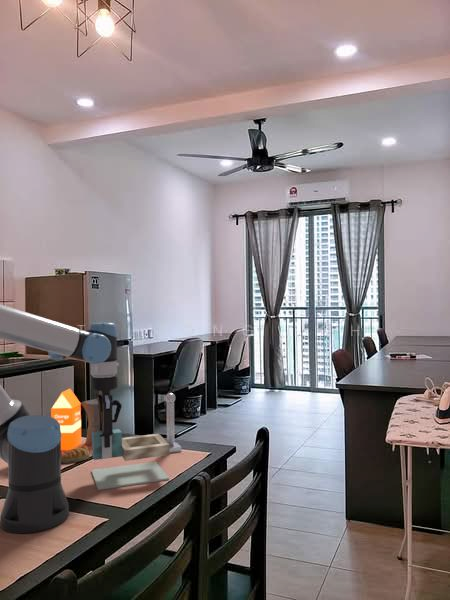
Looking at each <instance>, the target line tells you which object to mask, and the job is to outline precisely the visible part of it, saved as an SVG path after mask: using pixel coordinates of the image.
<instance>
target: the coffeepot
mask: <svg viewBox="0 0 450 600" xmlns="http://www.w3.org/2000/svg"><path fill="white" fill-rule="evenodd" d="M98 394H99V393H96V394H95V399H90V400H84V401H81V402H80V403H81V407H83V409H84V411H85V412H86V415H87V422H88V425H87V426H88V427H87V431H86V438H85V444H86V446H91V447H92V432H97V431H100V430H99V426H98V424H99V422H98V401H97V395H98ZM112 402H113V404H112V407H113V406H116V408H115V413H114V417H113V419H112V424H113V423H115V424H116V423H117V422H118V419H119V415H120V413H121V410H122V406H123V405H122V403H121V401H119V400H117V399H113V401H112Z"/></svg>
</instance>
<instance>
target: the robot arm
mask: <svg viewBox="0 0 450 600" xmlns="http://www.w3.org/2000/svg"><path fill="white" fill-rule="evenodd" d="M0 340H5V341H7V342H8V341H9V342H12V343H15V344H19V345H23V346H27V347H30V348H33V349H38V350H41V351H45V352H47V353H48V356H49V357H50V359H51V360H55V361H56V360H58V361H59V360H61V361H63V360H75V361H81V362H84V363H89V364H90V375H91V378H90V388H91V390H92V391H96V392H98V393H97V394H98V395H97V401H98V422H99V424H98V426H99V430H100V431H102V434H101V435H100V437H102V459H101V460H106V459H107V460H108V459H112V434H113V431H112V430H113V423H112V420H113V406H112V404H113V402H112V401H113V400H114V399H113V398H114V397H113V395H112V394H111V391H113V390H116V389H118V387H119V386H118V384H119V383H118V382H119V381H118V376H117V374H118V367H119V366H120V363H119V362H118V343H117V342H118V333H117V326H116V323H114V322H93V323H90V325H89V329H88V330H87V329H86V330H84V329H81V328H77V327H74V326H71V325H68V324H66V323H62V322H59V321H55V320H52V319H49V318H46V317H43V316H40V315H37V314H33V313H30V312H27V311H24V310H21V309H18V308H16V307H15V308H14V307H11V306H8V305H5V304H2V303H0ZM61 455H62V450H61V431H60V424H59V422H58V421H57V420H56V419H54V418H52V417H51V416H48V415H41V414H32V415H31V413H30V412H29V411H28V409H27V408H26V407H25V406H24V404H23V402H22V401H21V400H20V399H19V400H18V399H11V397H10V396H9V395H8V392H6V390H5V389H4V388H3V386H2V384H0V459H1V460H2V461H4V462H5V463H7V466H8V470H7V471H8V472H7V473H8V474H7V475H8V480H7V481H8V491H7V494H6V497H5V499H4V502H3V506H2V509H1V512H0V527H1V529H2V530H4V531H5V532H7V533H8V532H9V533H14V534H31V533H32V534H33V533H37V532H42V531H45V530H49V529H52V528H54V527H57V526H58V525H60V524H62V523H64V522H65V521H66V520H67V519H68V518H69V515H70V506H69V502H68V501H69V500H68V498H67V496H66V493H65V490H64V487H63V484H62V462H61Z"/></svg>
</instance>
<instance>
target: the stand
mask: <svg viewBox="0 0 450 600" xmlns="http://www.w3.org/2000/svg"><path fill="white" fill-rule="evenodd" d="M164 400H165V402H166V442H167V443H168V444H169V445H170V454H171V453H179V452H182V451H183V450H182V448H183V447H182V446H181V445H180V444H179V442H176V441H175V401H176V394H174V393H172V392H168V393H167V394H165V397H164Z"/></svg>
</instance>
